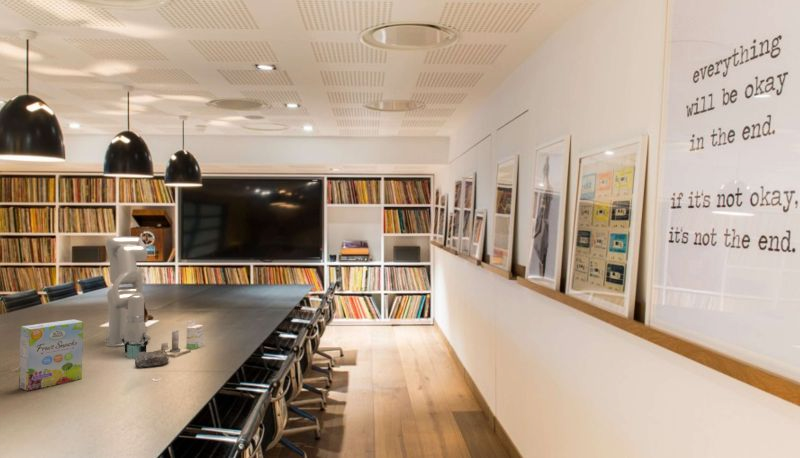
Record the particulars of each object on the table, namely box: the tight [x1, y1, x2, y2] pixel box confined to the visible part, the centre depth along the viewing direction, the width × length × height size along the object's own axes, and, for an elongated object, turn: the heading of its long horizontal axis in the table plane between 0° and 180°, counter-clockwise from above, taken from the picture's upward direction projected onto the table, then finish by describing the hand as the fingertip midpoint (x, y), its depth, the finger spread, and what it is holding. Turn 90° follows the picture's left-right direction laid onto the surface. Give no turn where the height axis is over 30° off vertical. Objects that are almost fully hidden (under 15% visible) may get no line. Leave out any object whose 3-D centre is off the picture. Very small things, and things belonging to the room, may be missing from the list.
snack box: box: [18, 318, 84, 392], centre depth 227 cm, size 22×9×26 cm, turn 148°
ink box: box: [185, 319, 204, 350], centre depth 293 cm, size 9×5×15 cm, turn 168°
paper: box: [122, 377, 162, 395], centre depth 231 cm, size 25×17×1 cm
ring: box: [126, 342, 142, 360], centre depth 272 cm, size 7×7×6 cm
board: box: [151, 329, 192, 358], centre depth 280 cm, size 16×12×12 cm
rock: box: [134, 349, 170, 368], centre depth 259 cm, size 13×6×15 cm
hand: (135, 352), depth 272 cm, fingers open, 9 cm apart
